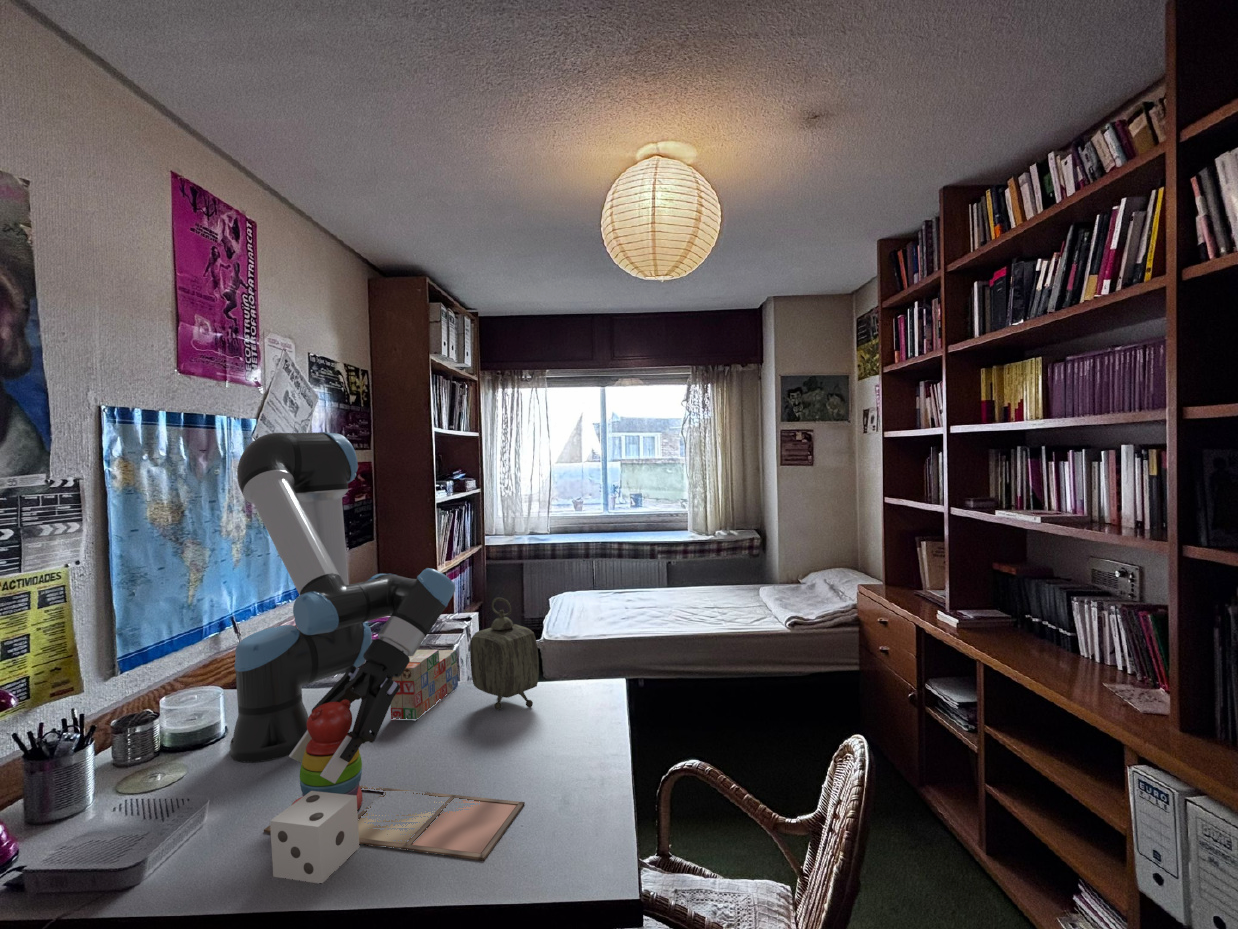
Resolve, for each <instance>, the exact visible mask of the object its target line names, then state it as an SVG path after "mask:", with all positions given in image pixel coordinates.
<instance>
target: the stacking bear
mask: <svg viewBox="0 0 1238 929" xmlns="http://www.w3.org/2000/svg"><path fill="white" fill-rule="evenodd" d="M351 704H352V703H350V701H349V700H343V701H341V702H329V703H325V704H322V705H320V706H319V707H317V708H316V709H314V710H313V711H312V710H311V712H310V715H308V720H307V730H308V732H309V734H310V736H311V738H312V739H311V740H310V741H309V743H308V744H307V746H306V750H305V752H304V756H303V760H302V763H300V764H301V765H300V770H299V771H300V772H299V784H300V785H299V786H300V790H301V794H302V797H303V796H305V795H306V794H308V793H309V792H310V791H318V792H328V793H337V794H346V795H356V796H357V810H358V809H359V810H360V808H361V807H360V806H362V804H363V801H364V800H363V792H362V791H363V790H361V789H360V787H359V785H360V782H361V779H362V775H363V774H362V773H363V768H362V767H363V761H362V755H361V753H360V748H359V749H358V750H357V752H356V753H355V755H354V756H353V758H352V760H351V761H350V762H349V763H348V764H347V766H346V767H345V769H344V770H343V772H342V774H341V775H340V777H339V778H338V780H337V781H336V783H335V784H334V783H332V782H331V781H329V780H327V779H325V778H323V777H321V776H320V774H321V773H322V771H323V770H324V768H325V767H326V765H327V764H328V762H329V761H330V759H331V758H332V756H333V755H334V753H335V752H336V750H337V749H338V747H339V746H340V745H341V743H342V742H343V740H344V739H345V737H346V736H349V735H348V733H349V732H350V731H351V728H352V725H353V724H352V723H353V714H352V711H351V706H352V705H351ZM349 737H351V736H349ZM351 738H352V737H351ZM302 797H298V798H297V799H295V800H294V801H293V802H292V804H291V805H293V804H294V803H295V802H297V801H298V800H299V799H301V798H302ZM359 810H358V811H359Z"/></svg>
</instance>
